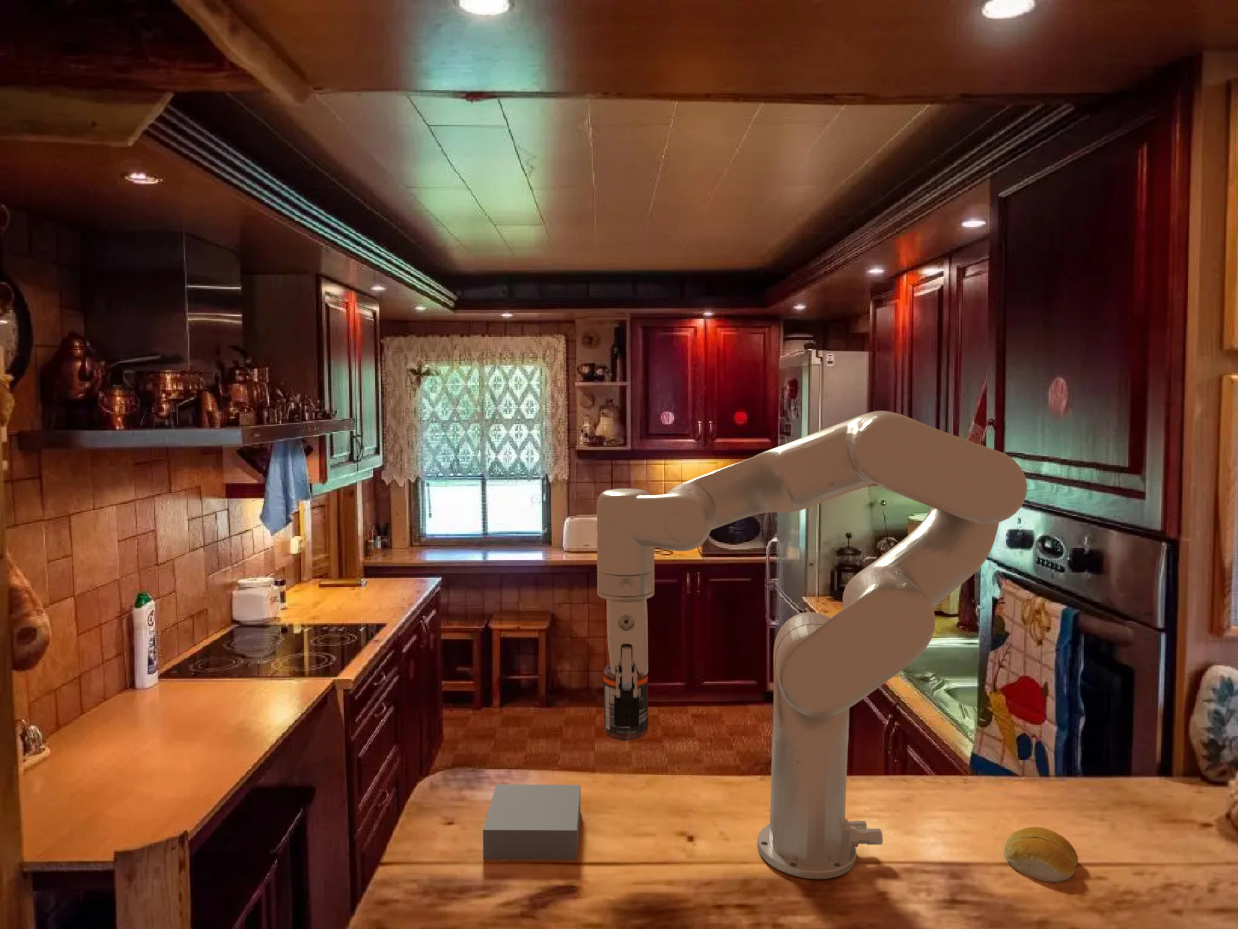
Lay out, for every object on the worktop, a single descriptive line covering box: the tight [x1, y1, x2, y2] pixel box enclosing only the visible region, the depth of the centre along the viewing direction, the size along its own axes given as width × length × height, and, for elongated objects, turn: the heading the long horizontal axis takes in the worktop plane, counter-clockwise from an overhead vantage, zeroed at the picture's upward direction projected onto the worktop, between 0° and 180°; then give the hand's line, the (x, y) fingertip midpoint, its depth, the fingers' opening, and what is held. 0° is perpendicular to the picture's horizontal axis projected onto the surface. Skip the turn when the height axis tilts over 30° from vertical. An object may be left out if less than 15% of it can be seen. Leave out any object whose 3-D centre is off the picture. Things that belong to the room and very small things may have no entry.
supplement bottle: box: [603, 647, 649, 742], centre depth 110 cm, size 6×6×11 cm
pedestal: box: [482, 783, 582, 861], centre depth 111 cm, size 12×12×4 cm
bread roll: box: [1003, 826, 1079, 883], centre depth 106 cm, size 8×9×4 cm
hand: (626, 714), depth 110 cm, fingers closed on supplement bottle, 6 cm apart
